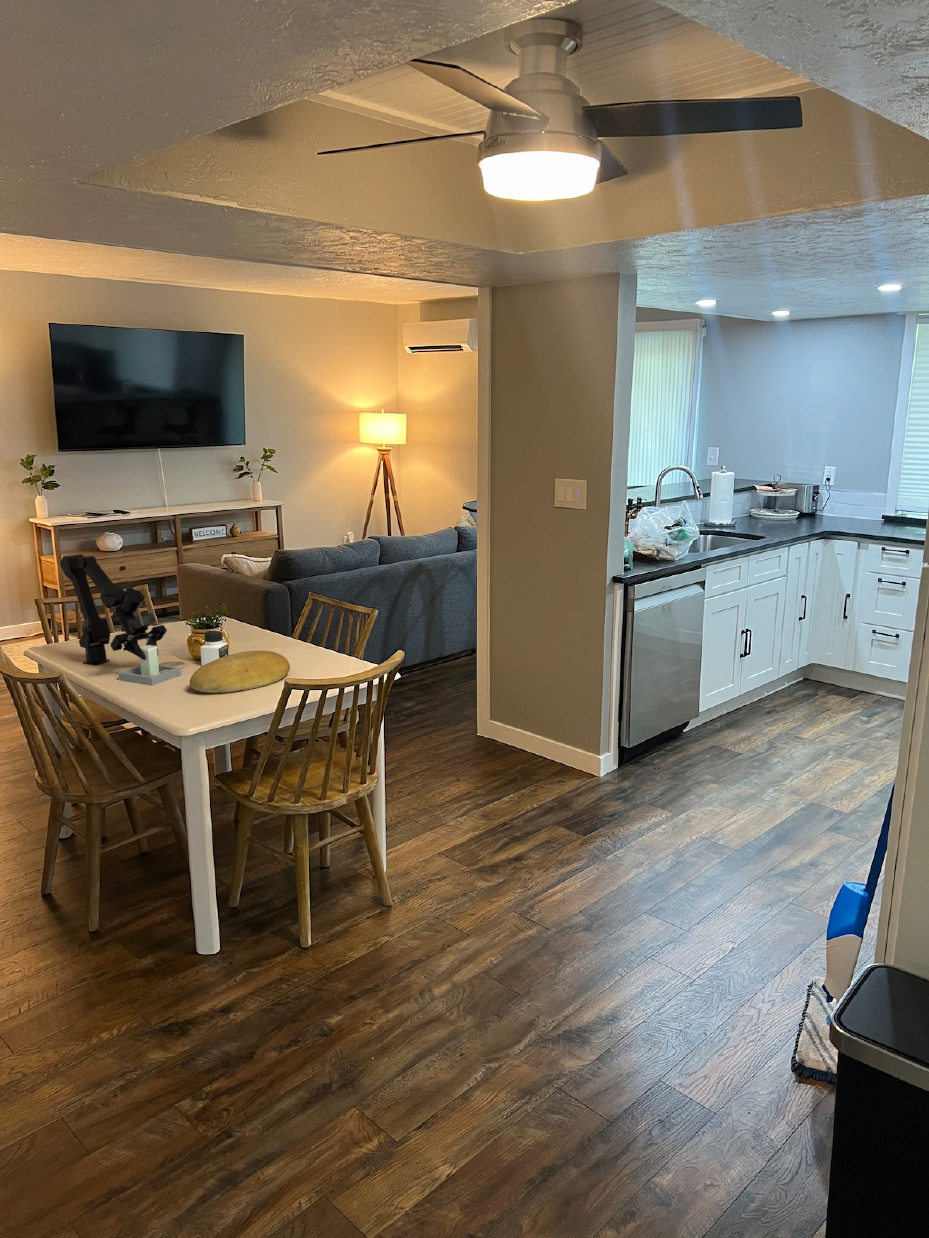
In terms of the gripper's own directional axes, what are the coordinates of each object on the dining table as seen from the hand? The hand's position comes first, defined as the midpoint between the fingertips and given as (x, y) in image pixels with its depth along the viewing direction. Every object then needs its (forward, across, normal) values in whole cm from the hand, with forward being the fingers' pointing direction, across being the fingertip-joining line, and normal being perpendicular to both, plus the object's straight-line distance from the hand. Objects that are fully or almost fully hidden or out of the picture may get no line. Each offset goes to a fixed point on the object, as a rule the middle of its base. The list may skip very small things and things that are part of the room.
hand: (151, 657), depth 304 cm
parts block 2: (+6, +4, +4) cm, 9 cm away
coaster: (0, +12, +10) cm, 16 cm away
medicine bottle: (+8, +23, +3) cm, 25 cm away
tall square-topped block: (+4, 0, +6) cm, 7 cm away
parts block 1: (+7, -3, +3) cm, 8 cm away
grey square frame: (+4, 0, +6) cm, 7 cm away
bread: (+26, +14, -15) cm, 33 cm away
